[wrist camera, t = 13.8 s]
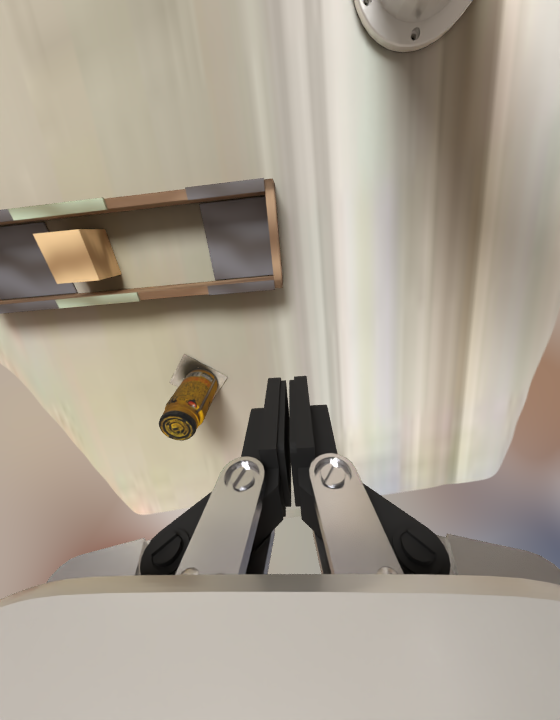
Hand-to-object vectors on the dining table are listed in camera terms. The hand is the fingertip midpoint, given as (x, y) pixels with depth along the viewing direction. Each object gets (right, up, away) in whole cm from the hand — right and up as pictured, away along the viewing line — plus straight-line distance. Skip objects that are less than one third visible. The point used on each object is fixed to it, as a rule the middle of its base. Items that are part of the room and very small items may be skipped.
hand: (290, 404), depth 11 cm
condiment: (-15, -1, +35) cm, 38 cm away
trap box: (-23, +17, +25) cm, 38 cm away
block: (-27, +17, +25) cm, 41 cm away
